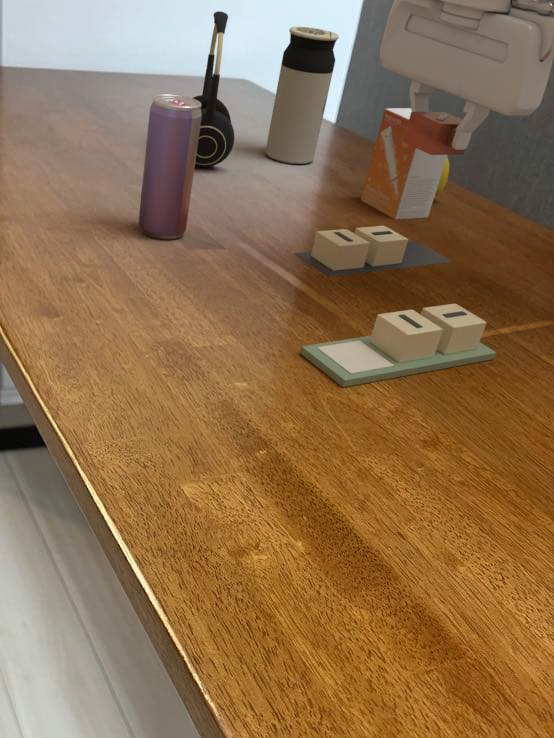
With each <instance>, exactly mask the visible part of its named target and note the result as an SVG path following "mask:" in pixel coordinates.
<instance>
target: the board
mask: <svg viewBox="0 0 554 738" xmlns="http://www.w3.org/2000/svg"><path fill="white" fill-rule="evenodd" d="M293 255H294V256H296V257H298V258H299V259H300V260H302V261H304V263H307V264H308V265H309V266H311V267H313V268H314V269H316V270H317V271H319V272H320V273H322V274H324V275H325V276H326V277H329V278H330V277H338V276H347V275H355V274H363V273H371V272H372V273H373V272H381V271H382V272H383V271H389V270H397V269H399V270H400V269H406V268H415V267H424V266H433V265H440V264H441V265H442V264H450V263H454V261H452V260H451V259H449V258H448V257H445V256H444V255H442V254H440V253H438V252H437V251H434V250H433V249H431V248H429V247H428V246H426V245H424V244H422V243H421V242H418V241H409V238H407V237H405V236H404V235H402V234H400V233H398V232H396V231H395V230H393V229H391V228H389V227H387V226H386V225H377V226H376V225H375V226H366V227H365V226H363V227H355V229H354V231H351V230H350V229H347V228H340V229H330V230H318V231H316V232H315V236H314V240H313V245H312V248H311V251H306V252H305V251H304V252H296V253H293Z"/></svg>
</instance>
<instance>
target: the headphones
mask: <svg viewBox="0 0 554 738" xmlns="http://www.w3.org/2000/svg"><path fill="white" fill-rule="evenodd" d="M228 19H229V15H228V13H226V12H224V11H220V10H219V11H215V12H214V13H213V20H214V21H213V23H214V27H213V31H212V36H211V43H210V48H209V53H208V55H207V62H206V69H205V74H204V80H203V87H202V94H199V95H196V96H193V97H192V98H193V99H195V100H198V101H199V102H200V103H201V114H202V117H201V124H200V131H199V138H198V146H197V153H196V160H195V166H196V167H200V168H210V167H213V166H217V165H219V164H221V163H222V162H223V161H225V160H226V159H227V158H228V157H229V155H230V154H231V152H232V150H233V148H234V144H235V130H234V127H233V124H232V119H231V115H230V112H229V110H228V109H227V107H226V105H225V104H224V103H223V101H221V100H220V99H219V98H218V93H219V85H220V77H221V74H220V71H221V62H222V54H223V44H224V35H225V33H226V28H227V23H228ZM216 44H217V46H216ZM215 50H216V55H215Z"/></svg>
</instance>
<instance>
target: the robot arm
mask: <svg viewBox="0 0 554 738" xmlns="http://www.w3.org/2000/svg"><path fill="white" fill-rule="evenodd" d="M552 16H554V2H553V1H551V0H393V3H392V6H391V8H390V12H389V14H388V17H387V21H386V25H385V28H384V32H383V36H382V40H381V45H380V50H379V58H380V65H381V67H382V68H383V69H385V70H388V71H390V72H393V73H395V74H398V75H399V76H400V75H401V76H403V77H405V78H408V79H410V80H411V82H410V87H409V89H408V91H409V100H410V101H409V103H410V108H411V111H412V112H430V111H429V110H430V109H429V108H430V107H429V106H430V105H429V104H430V101H429V100H430V99H429V98H430V97H429V95H433V93H434V91H435V89H436V90H439V91H442V92H445V93H447V94H450V95H452V96H454V97H457V98H459V99H462V100H465V105H464V107H463V113H465V116H464V117H463V118H462V121H461V123H460V124H459V125H458V127H450V130H449V133H448V138H447V140H446V145H447V146H449V147H451V148H454V149H456V150H464V149H465V150H466V149H467V148H468V146H469V143H470V140H471V138H472V134H473V132H475V131H476V130H477V129H478V128H479V126H480V125H482V123H483V122H484V121H485V120H486V119H487V117H488V116H489V113H490V110H491V111H493V112H496V113H499V114H501V115H504V116H508V117H527V116H530V115H532V113H533V112H535V111H536V110H537V109H538V108H539V107H540V105H541V103H542V100H543V97H544V94H545V92H546V89H547V88H546V87H547V85H548V81H549V78H550V74H551V71H552V70H551V69H552V66H553V62H554V17H552Z"/></svg>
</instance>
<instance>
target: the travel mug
mask: <svg viewBox="0 0 554 738" xmlns="http://www.w3.org/2000/svg"><path fill="white" fill-rule="evenodd" d="M288 32H289V33H290V36H289V37H290V38H289V44H288V45H287V47H286V48H285V49H284V51H283V53H282V60H281V65H280V68H279V76H278V81H277V87H276V91H275V97H274V102H273V108H272V113H271V119H270V125H269V130H268V135H267V140H266V144H265V145H266V146H265V151H264V152H265V154H266V155H267V156H268V157H269V158H271V159H272V160H275V161H276V162H280V163H285V164H290V165H306V164H309V163H312V162H313V161H315V154H316V150H317V146H318V141H319V137H320V133H321V126H322V124H323V119H324V114H325V110H326V106H327V105H326V104H327V101H328V96H329V92H330V86H331V82H332V78H333V74H334V68H335V64H336V57H335V52H334V47H335V46H336V42H337V40H339V37H340V35H338V33H335V32H334V31H331V30H326V29H321V28H316V27H309V26H308V27H307V26H292V27H290V28H289V31H288Z"/></svg>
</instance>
